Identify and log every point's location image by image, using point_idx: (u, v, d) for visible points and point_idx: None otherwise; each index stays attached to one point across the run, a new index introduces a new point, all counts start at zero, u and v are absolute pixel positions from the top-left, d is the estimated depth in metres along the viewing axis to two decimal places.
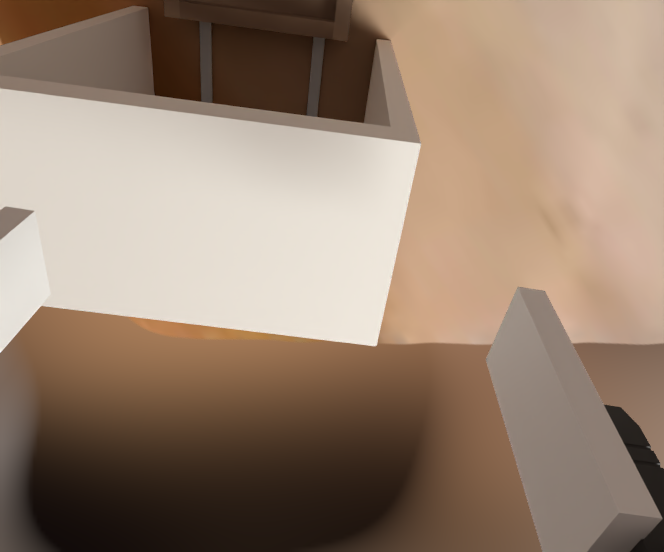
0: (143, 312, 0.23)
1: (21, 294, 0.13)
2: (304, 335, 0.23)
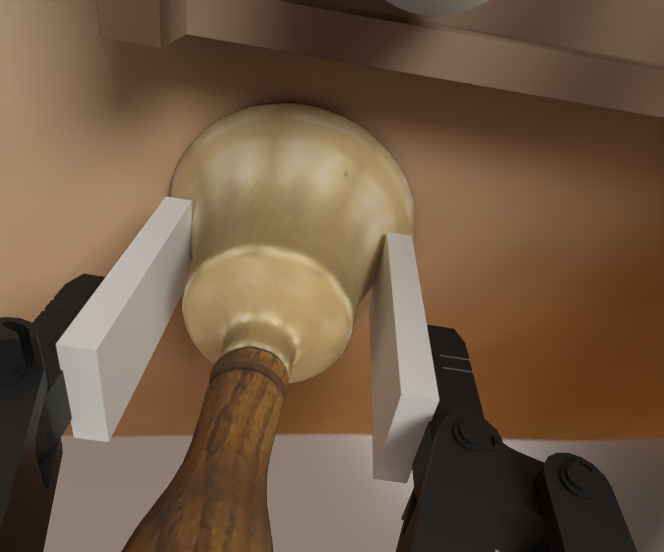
0: None
1: (179, 274, 0.15)
2: None
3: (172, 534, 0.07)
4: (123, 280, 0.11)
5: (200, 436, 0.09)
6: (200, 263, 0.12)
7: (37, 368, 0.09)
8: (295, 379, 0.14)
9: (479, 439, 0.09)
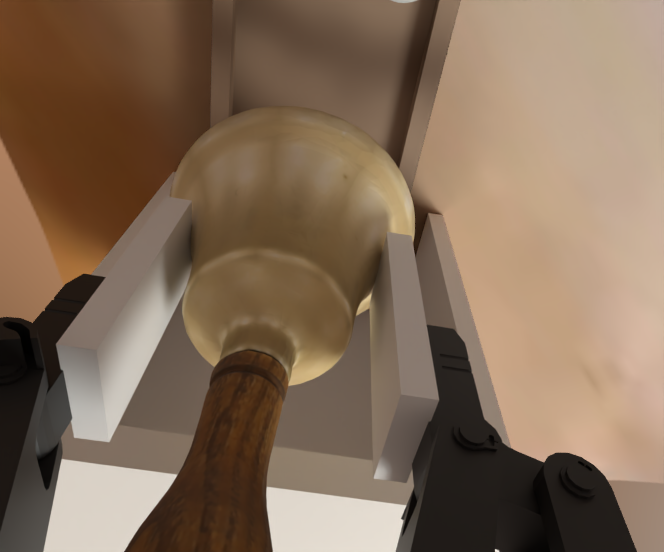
0: None
1: (180, 274, 0.15)
2: None
3: (172, 538, 0.07)
4: (123, 280, 0.11)
5: (200, 439, 0.09)
6: (200, 266, 0.12)
7: (37, 368, 0.09)
8: (295, 381, 0.14)
9: (479, 439, 0.09)
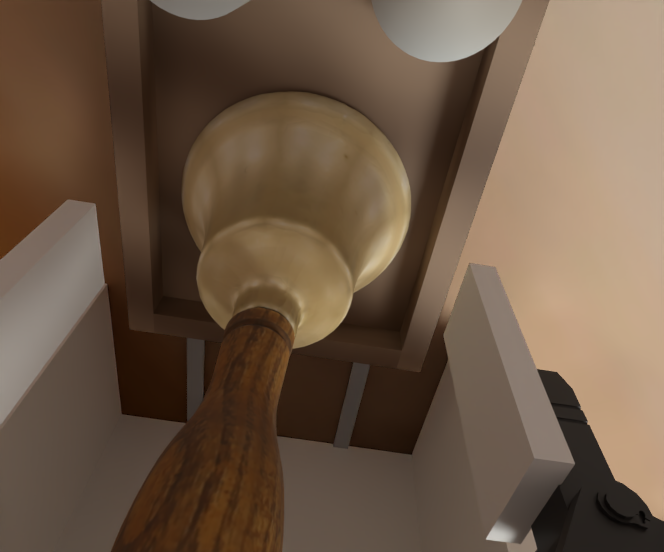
0: None
1: (83, 282, 0.14)
2: None
3: (197, 448, 0.08)
4: None
5: (217, 378, 0.10)
6: (213, 235, 0.14)
7: None
8: (299, 344, 0.15)
9: (627, 512, 0.08)
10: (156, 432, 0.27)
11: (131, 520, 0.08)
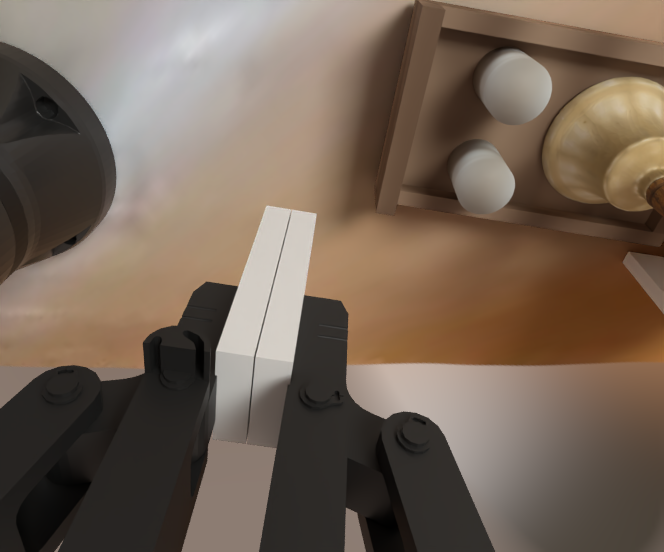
0: None
1: None
2: None
3: None
4: (255, 288, 0.12)
5: None
6: (607, 199, 0.30)
7: (203, 379, 0.10)
8: None
9: (324, 397, 0.10)
10: None
11: None
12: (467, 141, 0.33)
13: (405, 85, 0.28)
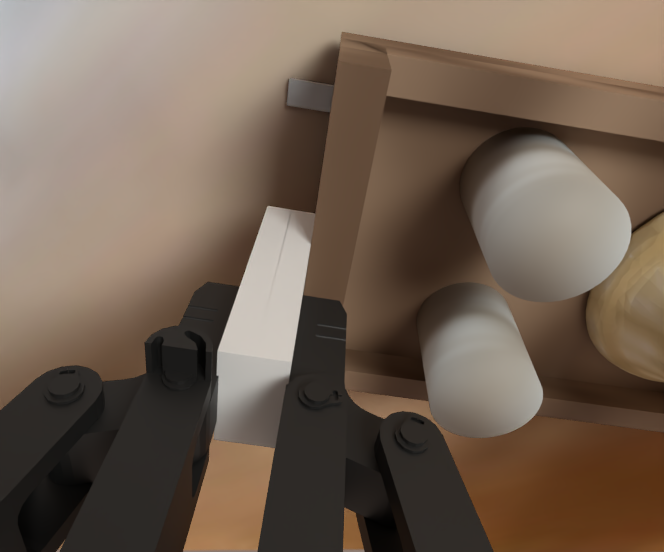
0: None
1: None
2: None
3: None
4: (257, 289, 0.12)
5: None
6: None
7: (205, 380, 0.10)
8: None
9: (323, 396, 0.10)
10: None
11: None
12: (451, 287, 0.18)
13: (316, 219, 0.14)
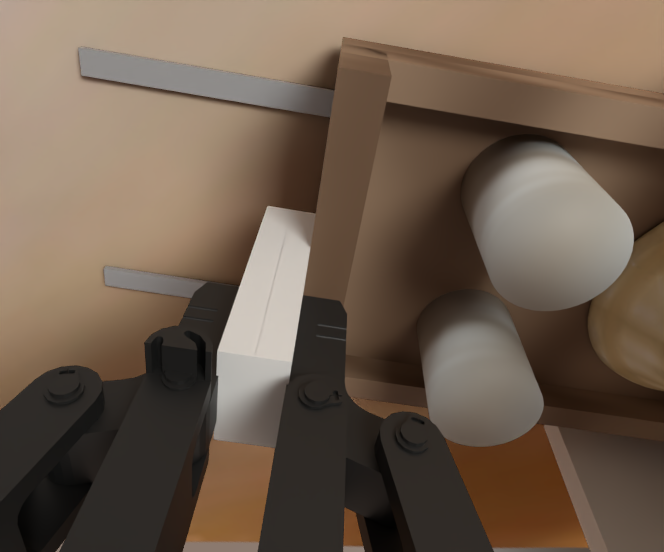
0: None
1: None
2: None
3: None
4: (256, 289, 0.12)
5: None
6: None
7: (205, 380, 0.10)
8: None
9: (323, 397, 0.10)
10: None
11: None
12: (451, 294, 0.18)
13: (315, 225, 0.13)
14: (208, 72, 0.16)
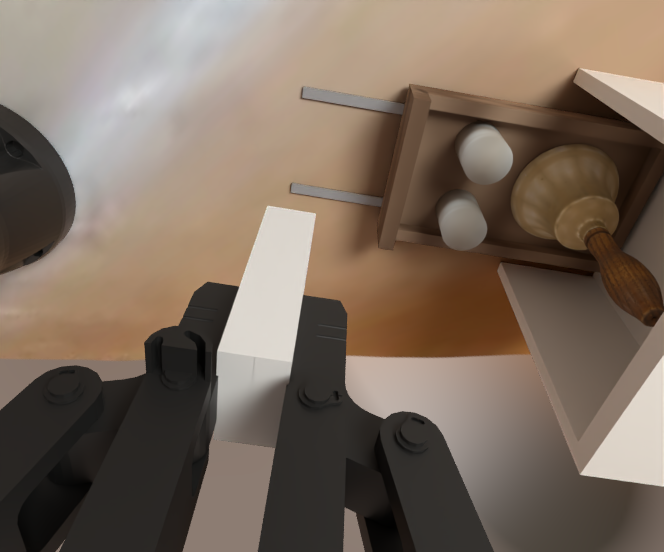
0: None
1: None
2: None
3: (601, 275, 0.32)
4: (256, 289, 0.12)
5: (597, 260, 0.34)
6: (558, 240, 0.38)
7: (205, 380, 0.10)
8: (615, 218, 0.36)
9: (323, 396, 0.10)
10: None
11: (609, 295, 0.31)
12: (451, 191, 0.41)
13: (401, 153, 0.37)
14: (354, 96, 0.39)
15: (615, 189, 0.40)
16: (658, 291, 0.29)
